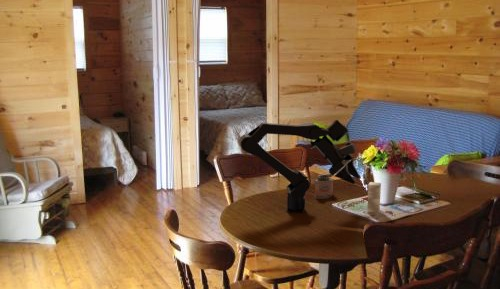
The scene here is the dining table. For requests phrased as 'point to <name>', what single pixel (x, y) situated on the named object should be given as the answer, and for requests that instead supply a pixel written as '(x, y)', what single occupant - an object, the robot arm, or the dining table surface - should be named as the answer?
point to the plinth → (373, 214)
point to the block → (374, 198)
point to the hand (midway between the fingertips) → (356, 180)
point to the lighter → (323, 186)
